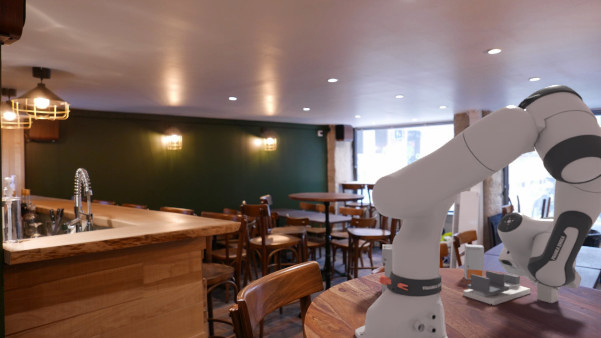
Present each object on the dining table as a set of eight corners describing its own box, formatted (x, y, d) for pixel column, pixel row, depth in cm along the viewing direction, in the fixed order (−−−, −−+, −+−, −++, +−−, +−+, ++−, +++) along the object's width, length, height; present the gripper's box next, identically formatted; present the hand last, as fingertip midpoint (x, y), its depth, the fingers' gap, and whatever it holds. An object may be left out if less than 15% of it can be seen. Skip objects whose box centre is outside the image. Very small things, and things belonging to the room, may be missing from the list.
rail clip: (490, 299, 112) (490, 280, 112) (466, 291, 119) (466, 273, 119) (527, 287, 123) (527, 270, 122) (502, 281, 129) (502, 265, 129)
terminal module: (550, 303, 113) (551, 276, 113) (536, 299, 116) (536, 273, 116) (558, 300, 115) (558, 274, 115) (543, 296, 118) (543, 271, 118)
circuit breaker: (430, 300, 115) (430, 250, 115) (382, 297, 118) (381, 248, 118) (427, 292, 122) (427, 245, 122) (381, 289, 125) (381, 244, 125)
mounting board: (493, 305, 111) (493, 300, 111) (463, 295, 120) (463, 290, 120) (530, 293, 122) (530, 288, 122) (499, 284, 130) (499, 280, 130)
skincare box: (465, 279, 136) (465, 246, 136) (464, 276, 140) (464, 243, 140) (484, 281, 134) (484, 247, 134) (482, 278, 138) (482, 244, 138)
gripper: (575, 255, 103) (591, 285, 108) (501, 242, 120) (518, 269, 125) (567, 274, 100) (584, 304, 106) (492, 258, 118) (510, 285, 123)
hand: (547, 285), depth 116 cm, fingers closed on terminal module, 4 cm apart
